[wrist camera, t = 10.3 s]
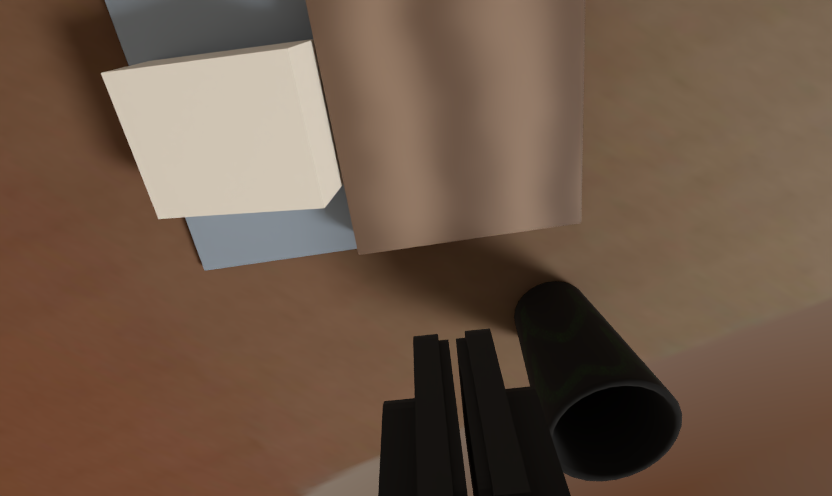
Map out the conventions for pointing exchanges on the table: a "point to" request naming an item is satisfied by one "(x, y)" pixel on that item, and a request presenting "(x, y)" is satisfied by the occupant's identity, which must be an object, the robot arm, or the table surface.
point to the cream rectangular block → (230, 130)
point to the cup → (592, 387)
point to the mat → (220, 31)
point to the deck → (454, 115)
